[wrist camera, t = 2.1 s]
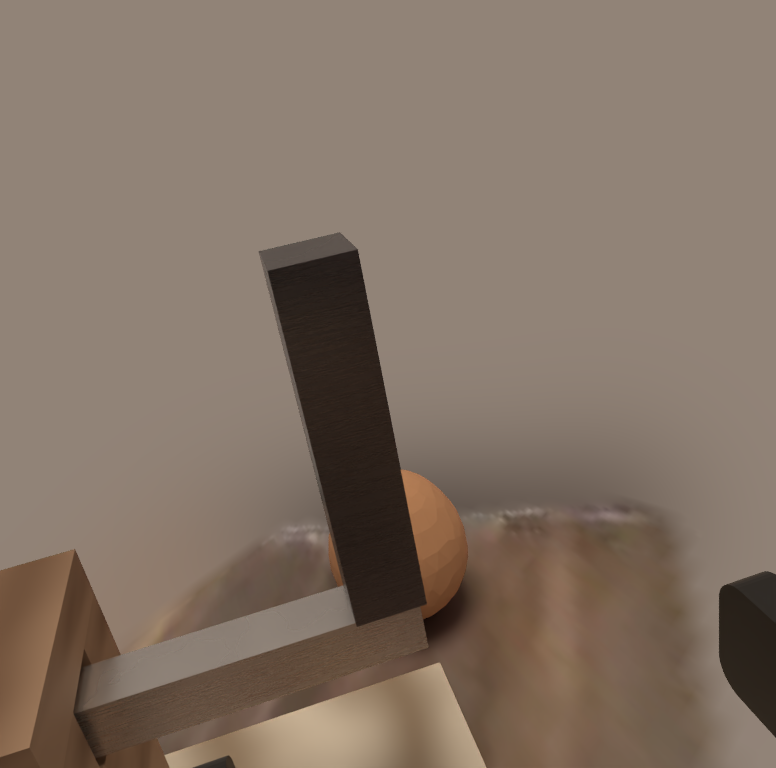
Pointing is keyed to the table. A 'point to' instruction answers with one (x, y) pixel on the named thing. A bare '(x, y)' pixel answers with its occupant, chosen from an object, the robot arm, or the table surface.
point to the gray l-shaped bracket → (345, 521)
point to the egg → (430, 542)
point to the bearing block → (246, 746)
